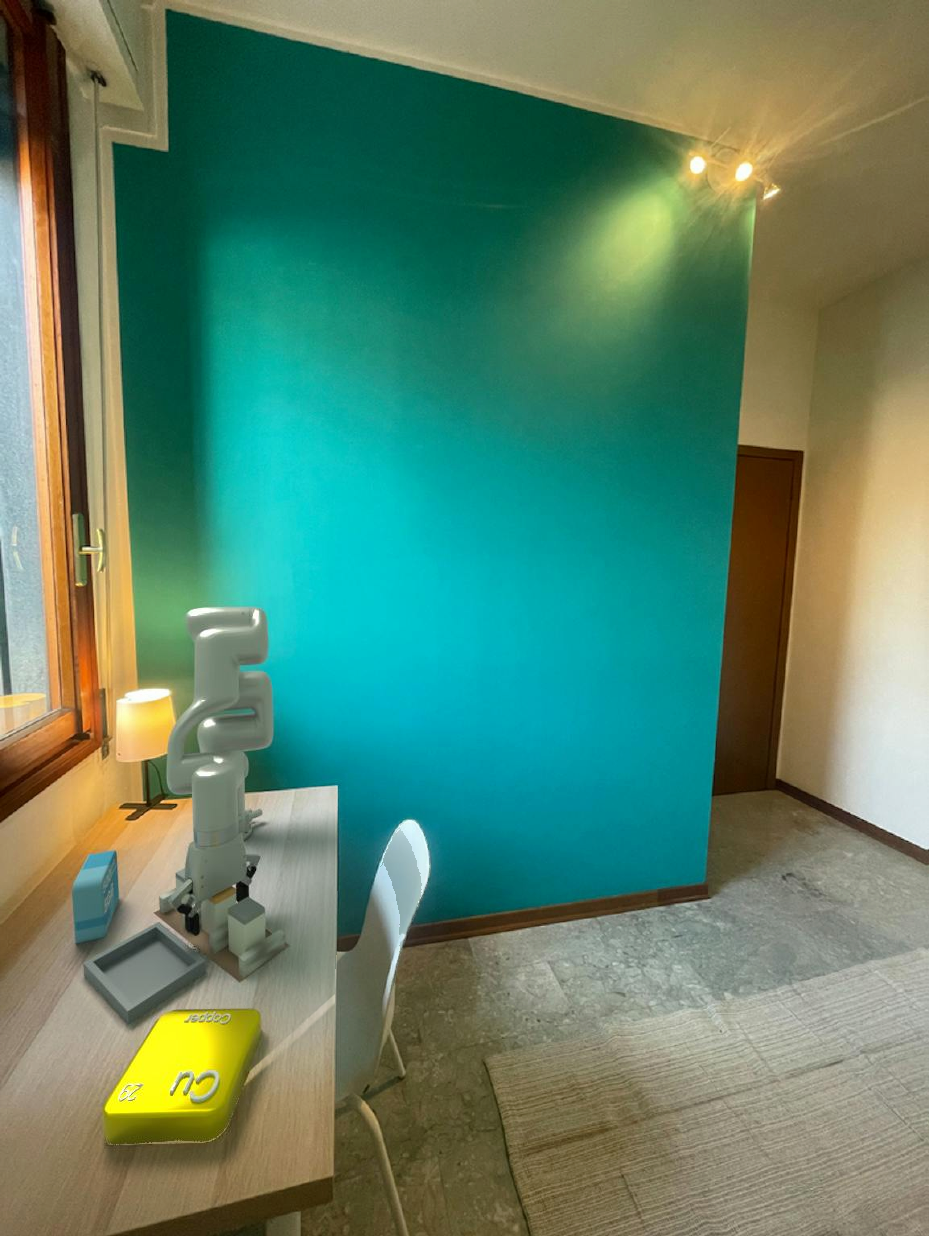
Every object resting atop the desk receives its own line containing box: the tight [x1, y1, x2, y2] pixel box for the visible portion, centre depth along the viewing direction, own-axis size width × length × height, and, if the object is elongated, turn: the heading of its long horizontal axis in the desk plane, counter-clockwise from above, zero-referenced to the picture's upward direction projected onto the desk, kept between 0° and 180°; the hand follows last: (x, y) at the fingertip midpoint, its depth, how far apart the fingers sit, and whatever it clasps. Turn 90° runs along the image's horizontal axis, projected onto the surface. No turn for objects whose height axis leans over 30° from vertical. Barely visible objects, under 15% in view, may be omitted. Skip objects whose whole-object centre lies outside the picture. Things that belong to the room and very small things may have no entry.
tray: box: [82, 921, 207, 1025], centre depth 85 cm, size 12×16×3 cm
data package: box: [71, 849, 120, 944], centre depth 97 cm, size 12×4×12 cm, turn 23°
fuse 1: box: [175, 867, 195, 914], centre depth 100 cm, size 4×5×8 cm
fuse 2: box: [228, 896, 266, 957], centre depth 91 cm, size 4×5×8 cm
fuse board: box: [153, 887, 291, 983], centre depth 96 cm, size 10×29×4 cm, turn 56°
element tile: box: [102, 1008, 262, 1145], centre depth 68 cm, size 15×15×5 cm
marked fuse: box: [201, 886, 237, 935], centre depth 96 cm, size 4×5×8 cm
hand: (218, 917), depth 96 cm, fingers open, 9 cm apart
